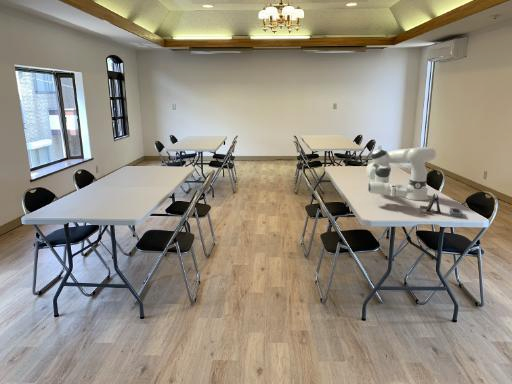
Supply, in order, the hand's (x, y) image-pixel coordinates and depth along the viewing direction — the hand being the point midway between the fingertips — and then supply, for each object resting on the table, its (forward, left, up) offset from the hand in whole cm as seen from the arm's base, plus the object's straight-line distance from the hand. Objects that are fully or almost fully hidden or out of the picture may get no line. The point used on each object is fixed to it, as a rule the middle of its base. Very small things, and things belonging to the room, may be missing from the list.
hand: (414, 191), depth 258 cm
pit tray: (-1, +27, -13) cm, 30 cm away
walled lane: (-1, +9, -13) cm, 16 cm away
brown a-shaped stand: (-1, +14, -13) cm, 19 cm away
